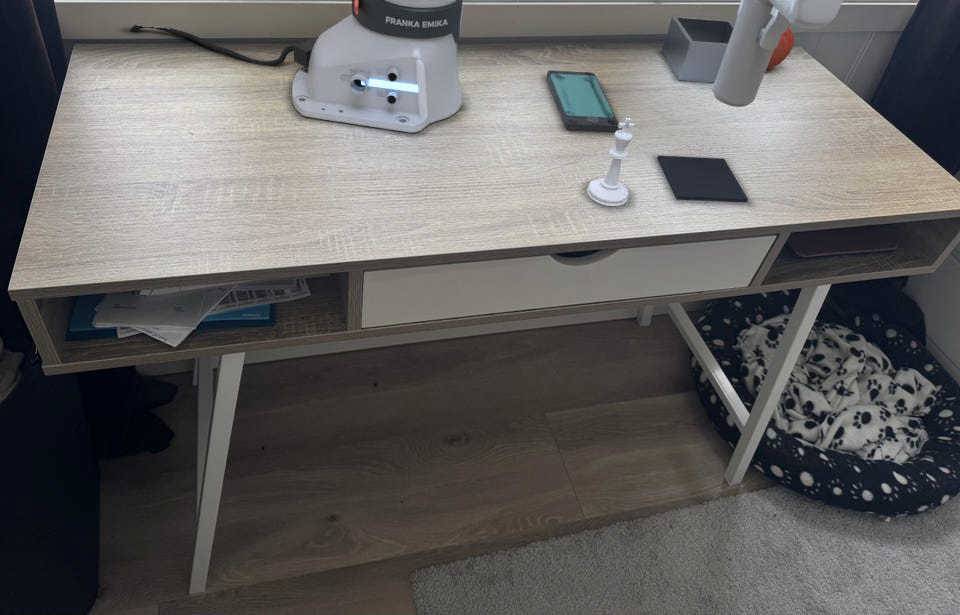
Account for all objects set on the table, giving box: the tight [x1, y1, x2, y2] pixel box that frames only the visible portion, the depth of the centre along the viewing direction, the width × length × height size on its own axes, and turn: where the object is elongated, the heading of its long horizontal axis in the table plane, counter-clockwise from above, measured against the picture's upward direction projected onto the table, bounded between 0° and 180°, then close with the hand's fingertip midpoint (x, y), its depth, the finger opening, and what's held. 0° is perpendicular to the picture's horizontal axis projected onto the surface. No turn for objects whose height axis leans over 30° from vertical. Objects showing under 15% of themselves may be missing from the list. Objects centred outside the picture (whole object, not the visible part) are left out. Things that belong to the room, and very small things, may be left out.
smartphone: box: [545, 70, 620, 133], centre depth 103 cm, size 7×1×15 cm
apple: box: [766, 27, 795, 70], centre depth 116 cm, size 7×7×8 cm
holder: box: [661, 15, 735, 83], centre depth 114 cm, size 10×10×6 cm
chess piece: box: [586, 117, 635, 207], centre depth 84 cm, size 5×5×10 cm
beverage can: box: [711, 0, 774, 108], centre depth 80 cm, size 5×5×12 cm
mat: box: [656, 155, 749, 203], centre depth 92 cm, size 9×9×1 cm
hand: (755, 34), depth 79 cm, fingers closed on beverage can, 5 cm apart
